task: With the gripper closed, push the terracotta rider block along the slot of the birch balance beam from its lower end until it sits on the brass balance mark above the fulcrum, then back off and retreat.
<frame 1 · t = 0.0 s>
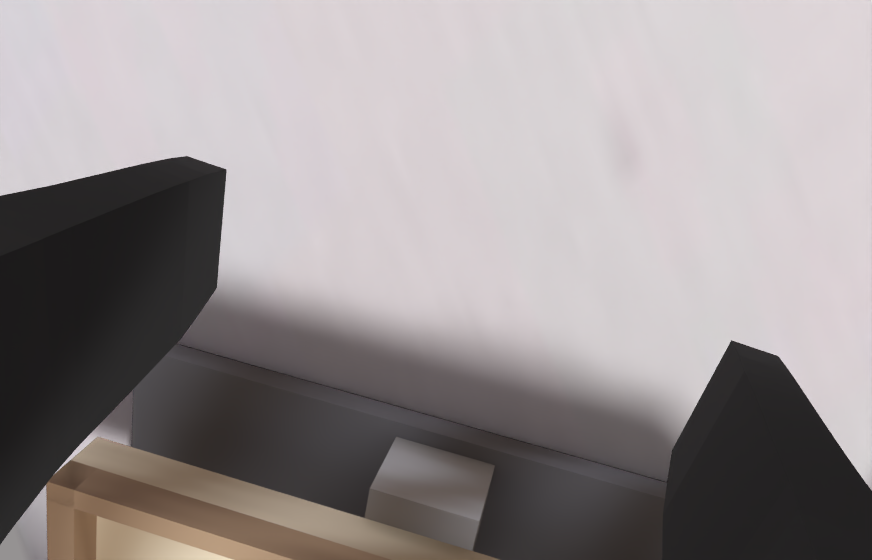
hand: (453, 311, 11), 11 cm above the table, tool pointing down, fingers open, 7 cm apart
balance beam: (430, 527, 26), on the table
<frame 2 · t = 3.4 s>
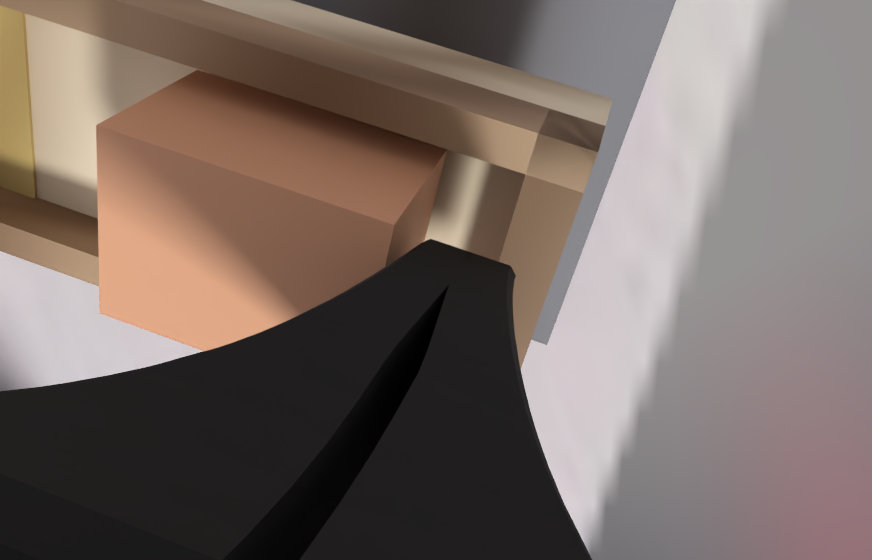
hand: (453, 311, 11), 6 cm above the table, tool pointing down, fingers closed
rider: (273, 231, 12), point 6 cm above the table, slide at -5.4 cm, touching gripper
balance beam: (159, 27, 17), on the table
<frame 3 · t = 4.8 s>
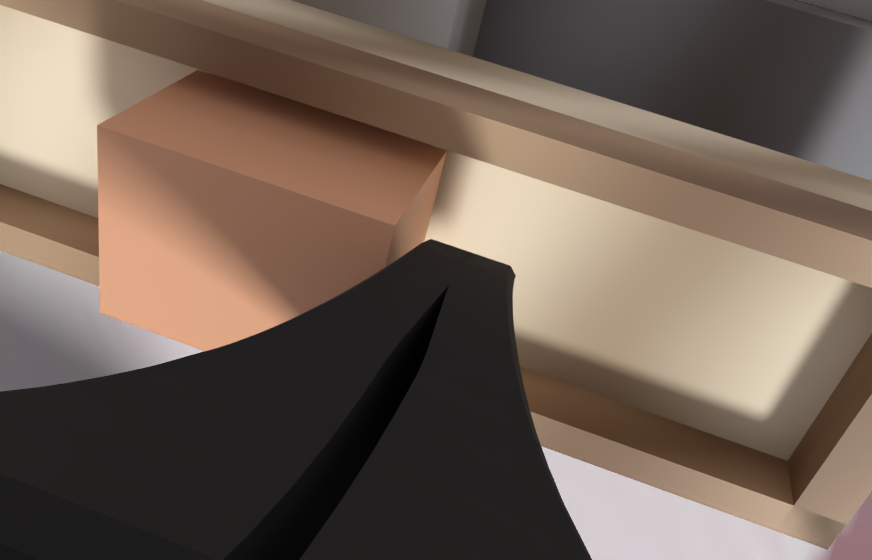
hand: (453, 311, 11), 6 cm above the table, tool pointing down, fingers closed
rider: (273, 231, 12), point 6 cm above the table, slide at -0.1 cm, touching gripper
balance beam: (393, 101, 17), on the table
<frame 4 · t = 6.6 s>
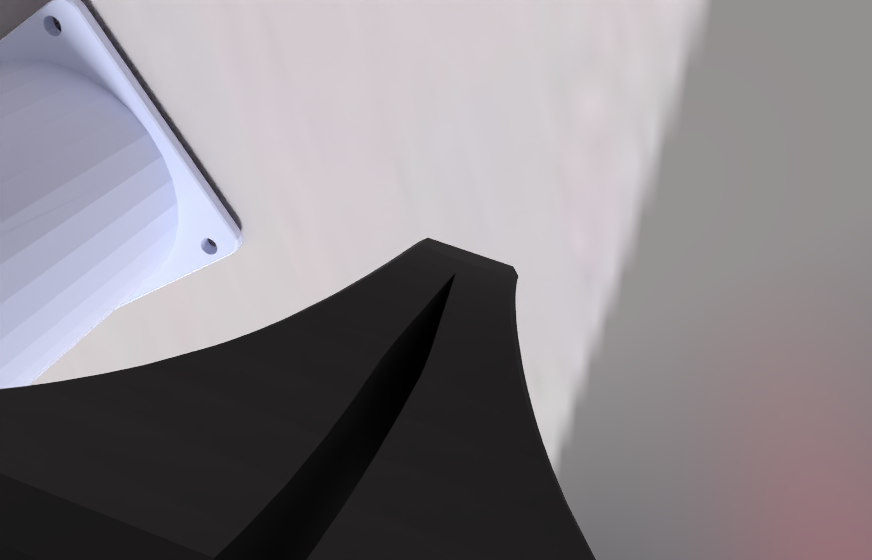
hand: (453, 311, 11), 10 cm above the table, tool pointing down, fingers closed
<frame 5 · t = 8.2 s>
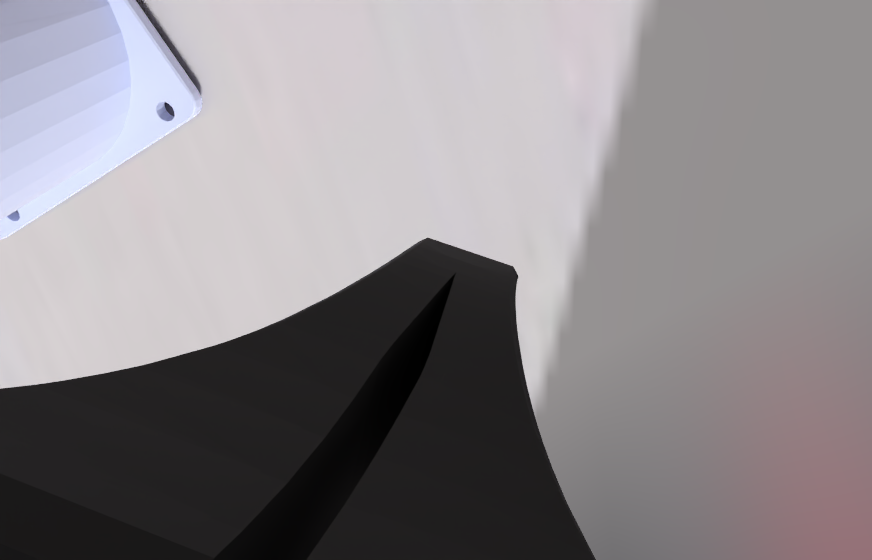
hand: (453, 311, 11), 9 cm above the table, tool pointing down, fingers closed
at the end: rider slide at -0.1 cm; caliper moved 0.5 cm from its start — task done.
